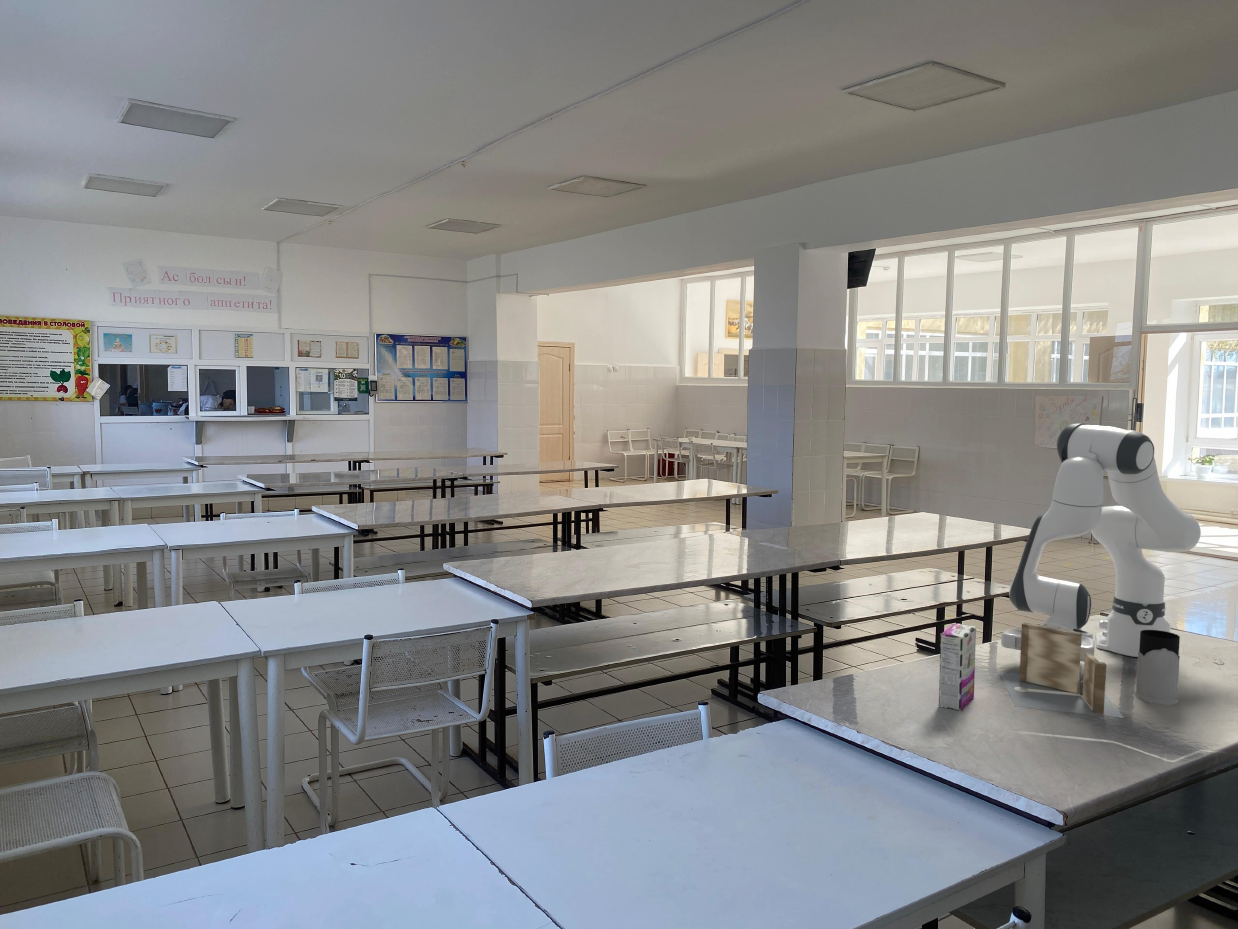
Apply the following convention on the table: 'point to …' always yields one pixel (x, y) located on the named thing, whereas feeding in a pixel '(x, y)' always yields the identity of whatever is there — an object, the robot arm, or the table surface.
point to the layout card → (1051, 698)
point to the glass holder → (1158, 667)
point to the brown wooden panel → (1050, 657)
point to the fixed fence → (1094, 683)
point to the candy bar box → (957, 666)
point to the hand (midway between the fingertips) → (1040, 652)
